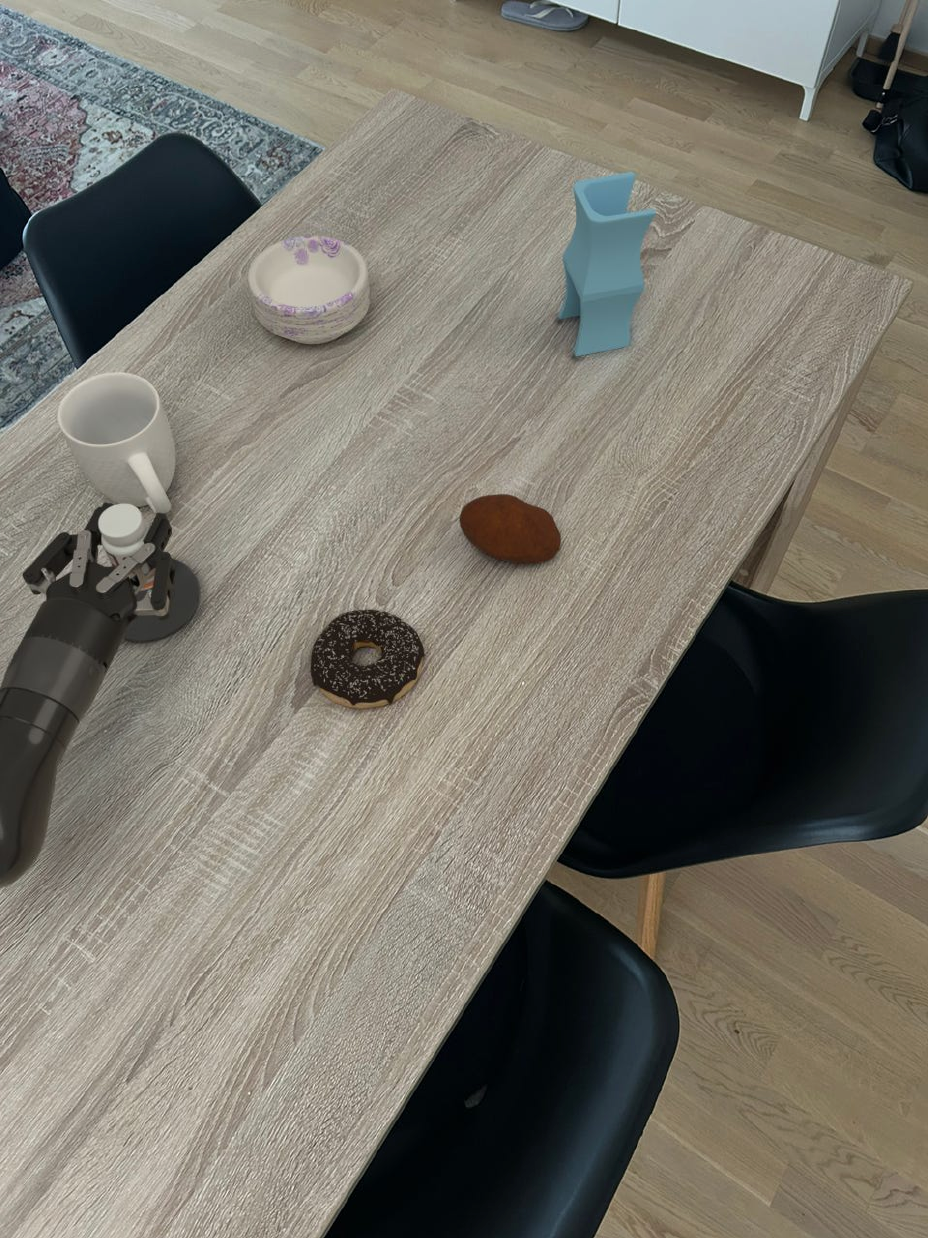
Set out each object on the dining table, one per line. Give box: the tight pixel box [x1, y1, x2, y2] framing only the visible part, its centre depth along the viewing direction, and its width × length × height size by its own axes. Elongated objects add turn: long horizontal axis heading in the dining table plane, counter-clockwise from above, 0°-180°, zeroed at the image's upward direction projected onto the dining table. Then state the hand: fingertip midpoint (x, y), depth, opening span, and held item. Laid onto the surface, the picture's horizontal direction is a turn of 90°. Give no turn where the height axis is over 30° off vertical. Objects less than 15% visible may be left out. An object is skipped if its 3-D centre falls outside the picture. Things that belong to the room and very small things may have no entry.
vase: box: [557, 171, 657, 357], centre depth 128 cm, size 8×8×20 cm
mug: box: [56, 371, 177, 515], centre depth 116 cm, size 15×11×13 cm
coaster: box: [123, 558, 201, 643], centre depth 114 cm, size 11×11×1 cm
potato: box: [458, 493, 562, 565], centre depth 114 cm, size 8×12×8 cm, turn 78°
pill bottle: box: [98, 503, 155, 591], centre depth 99 cm, size 5×5×8 cm
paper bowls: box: [247, 235, 371, 345], centre depth 134 cm, size 15×15×8 cm
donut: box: [310, 609, 426, 710], centre depth 108 cm, size 11×12×4 cm
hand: (137, 513), depth 99 cm, fingers closed on pill bottle, 4 cm apart
